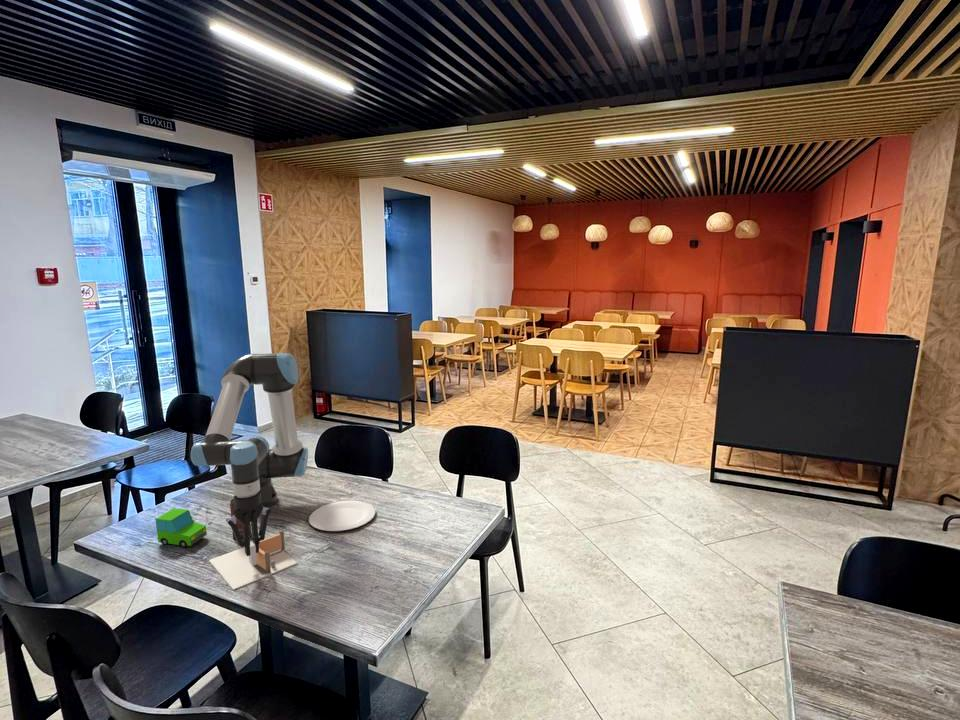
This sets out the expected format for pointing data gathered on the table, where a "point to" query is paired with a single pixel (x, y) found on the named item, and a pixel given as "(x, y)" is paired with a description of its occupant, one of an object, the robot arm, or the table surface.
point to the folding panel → (263, 560)
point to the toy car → (179, 528)
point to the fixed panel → (273, 543)
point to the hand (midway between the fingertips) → (253, 563)
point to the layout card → (248, 567)
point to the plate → (342, 516)
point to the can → (238, 523)
